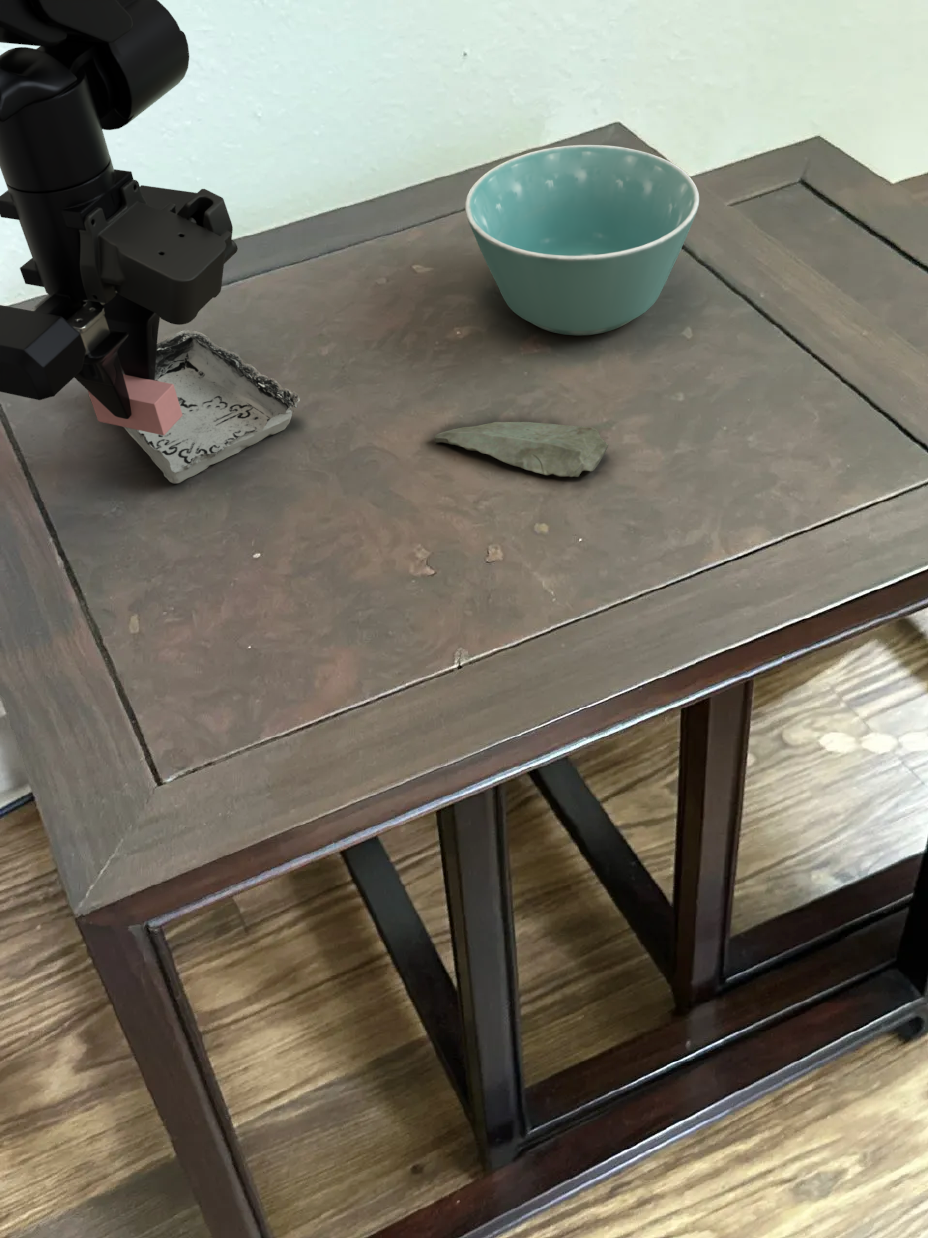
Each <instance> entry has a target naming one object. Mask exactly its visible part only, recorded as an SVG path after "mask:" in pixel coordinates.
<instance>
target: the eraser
mask: <svg viewBox="0 0 928 1238" xmlns="http://www.w3.org/2000/svg"><path fill="white" fill-rule="evenodd" d="M123 376H124V380H125V384H126V387H127V391H128V395H129V400H130V407H131V414H132V415H131V416H130V417H129V419H124V418H119V417H116V416H114V415H113V414H112V413H111V412H110V411H109V410H108V409H107V408H106V407H105V406H104V405H103V404H102V403H101V402H100V401H98V400H97V399H96V398H95V397H94V396H93V395H92V394H91V393H90V392H89V391H88V390H87V393H88V396H89V398H90V401H91V404H92V407H93V410H94V413H95V415H96V419H97V421H98V422H100V423H104V424H107V425H108V424H109V425H113V426H117V427H123V428H124V427H127V428H131V429H136V430H141V431H145V432H150V433H155V434H159V435H165V434H166V433H167V432H168V431H169V430H170V429H171V427H172V426H173V425H174V424H175V423H176V422H177V421H178V420H179V419H180V418H181V417H182V412H181V408H180V405H179V401H178V398H177V395H176V391H175V388H174V385H173V384H170V383H165V382H160V381H155V380H150V379H144V378H139V377H134V376H129V375H125V374H123Z"/></svg>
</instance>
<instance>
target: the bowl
mask: <svg viewBox="0 0 928 1238" xmlns="http://www.w3.org/2000/svg"><path fill="white" fill-rule="evenodd" d="M693 180H694V179H692V178H691V177H690V175H689V174H688V173H687V172H686V171H685V170H683V169H682V168H681V167H679V166H678V165H676V164H674V162H671V161H669V160H667V159H665V158H663V157H660V156H657V155H655V154H653V153H649V152H646V151H643V150H638V149H634V148H628V147H623V146H616V145H602V144H575V145H573V144H572V145H563V146H556V147H554V146H553V147H548V148H543V149H539V150H535V151H531V152H527V153H524V154H521V155H518V156H515V157H512V158H511V159H508V160H506V161H505V162H502V163H500V164H497V165H496V166H494V167H493V168H491V169H490V170H488V171H487V172H486V173H485V174H483V175H482V176H481V177H480V178H478V180H476V182H475V183H474V184H473V185H472V186H471V188H470V189H469V192H468V193H467V195H466V198H465V203H464V211H465V216H466V219H467V221H468V224H469V226H470V229H471V231H472V234H473V236H474V238H475V240H476V243H477V246H478V248H479V250H480V252H481V254H482V257H483V259H484V261H485V264H486V265H487V267H488V269H489V272H490V273H491V275H492V277H493V280H494V281H495V284H496V285H497V287H498V290H499V292H500V294H501V297H502V298H503V300H504V302H505V303H506V305H507V306H508V307H509V309H510V310H511V311H512V312H514V313H515V314H516V315H517V316H518V317H520V318H521V319H523V320H525V321H527V322H529V323H531V324H532V325H534V326H536V327H537V328H540V329H542V330H544V331H547V332H551V333H555V334H559V335H566V336H592V335H599V334H603V333H608V332H611V331H614V330H616V329H619V328H621V327H624V326H625V325H627V324H628V323H630V322H631V321H633V320H635V319H637V318H639V317H640V316H642V315H643V314H645V313H646V312H647V311H648V310H650V309H651V308H652V306H653V305H654V304H655V303H656V302H657V301H658V299H659V297H660V295H661V293H662V291H663V290H664V287H665V285H666V283H667V281H668V278H669V276H670V274H671V272H672V270H673V267H674V266H675V264H676V261H677V259H678V258H679V255H680V252H681V250H682V248H683V246H684V243H685V241H686V239H687V237H688V234H689V232H690V230H691V227H692V225H693V223H694V220H695V218H696V215H697V212H698V209H699V205H700V194H699V189H698V187H697V185H696V183H695V182H694V181H693Z"/></svg>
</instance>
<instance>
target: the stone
mask: <svg viewBox="0 0 928 1238" xmlns="http://www.w3.org/2000/svg"><path fill="white" fill-rule="evenodd" d="M434 443H444V444H449V445H453V446H454V445H455V446H457V447H460V448H463V449H465V450H467V451H474V452H475V451H476V452H479V453H481V454H483V455H484V454H486V455H488V456H491V457H492V458H495V459H497V460H498V461H500V462H503V463H505V464H508V465H510V466H514V467H518V468H521V469H522V470H523V469H524V470H526V471H530V472H533V473H536V474H541V475H544V476H550V475H554V476H556V477H562V478H563V477H569V478H573V477H575V478H579V477H580V474H581V473H583V472H584V471H585V472H589V473H590V472H594V471H595V469H596V468H597V467H598V466H599V464H600V463H601V461H602V458H603V457H604V455H605V453H606V452H607V449H608V448H609V446H610V445H609V443H607V442H606V440H604V439H603V438H601V435H600V431H599V430H598V429H596V428H595V427H590V426H580V425H567V424H557V423H556V424H555V423H546V422H532V421H531V422H530V421H504V422H503V421H494V422H490V423H484V424H479V425H474V426H463V427H458V428H453V429H448V430H446V431H442V432H439V433H437V434H435V436H434Z"/></svg>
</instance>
